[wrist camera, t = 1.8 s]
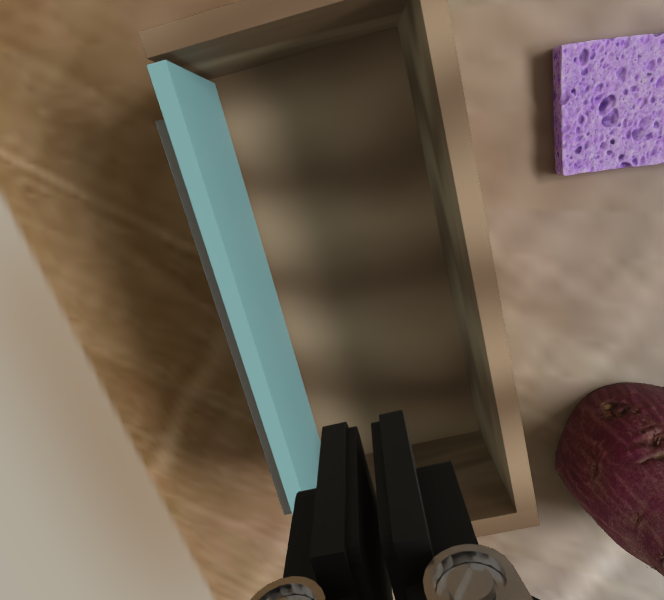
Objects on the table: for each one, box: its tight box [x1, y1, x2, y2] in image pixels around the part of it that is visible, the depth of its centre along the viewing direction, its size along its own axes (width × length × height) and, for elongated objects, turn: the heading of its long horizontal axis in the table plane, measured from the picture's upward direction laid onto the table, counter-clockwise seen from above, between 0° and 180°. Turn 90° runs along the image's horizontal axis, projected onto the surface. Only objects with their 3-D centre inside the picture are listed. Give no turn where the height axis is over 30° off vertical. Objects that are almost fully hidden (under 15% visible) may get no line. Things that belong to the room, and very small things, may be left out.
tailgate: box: [147, 60, 321, 515], centre depth 28 cm, size 24×1×8 cm, turn 14°
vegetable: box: [555, 382, 664, 576], centre depth 30 cm, size 10×10×15 cm
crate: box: [138, 0, 540, 537], centre depth 28 cm, size 27×12×10 cm, turn 14°
